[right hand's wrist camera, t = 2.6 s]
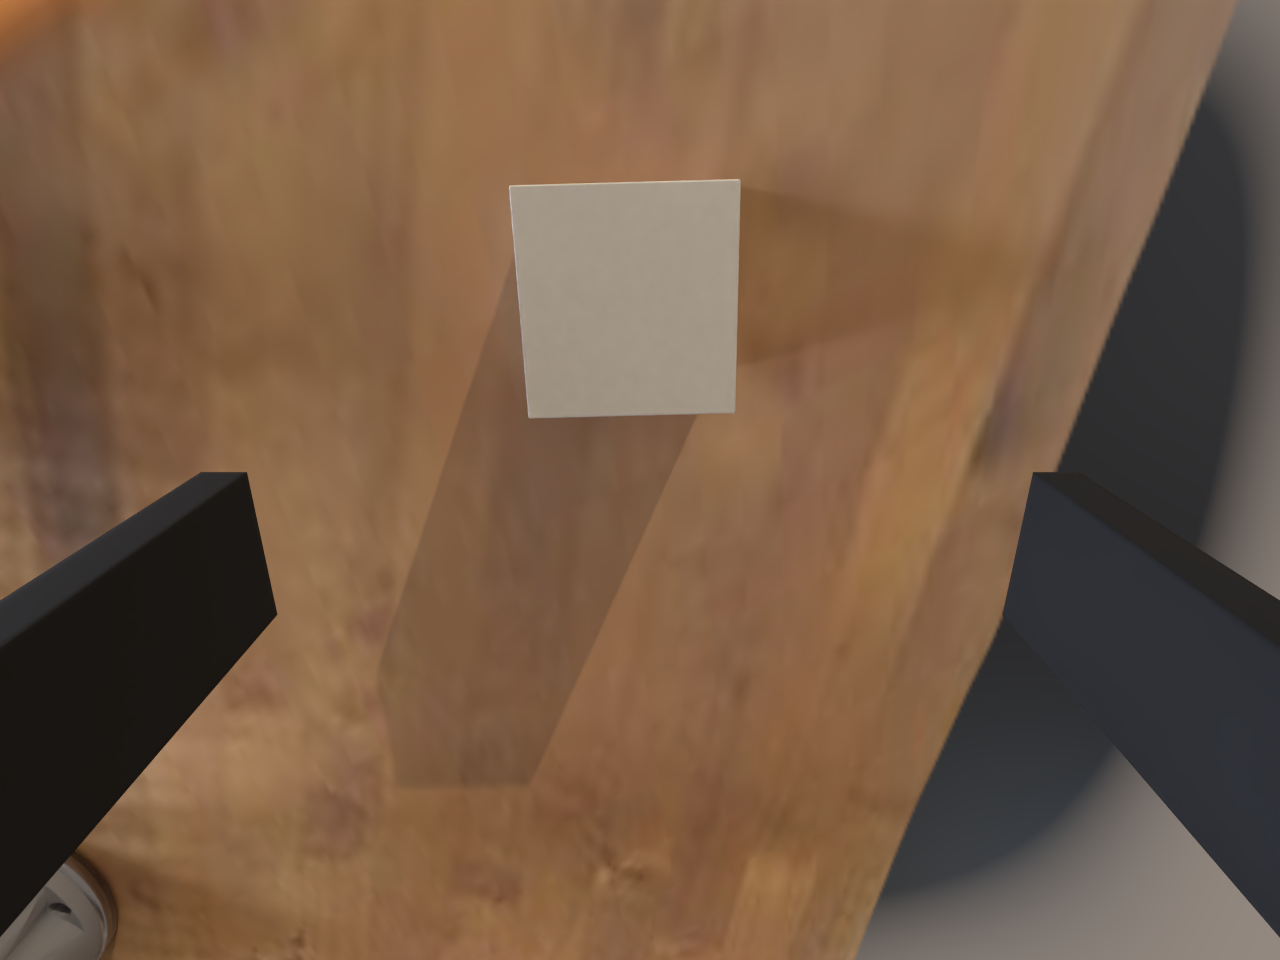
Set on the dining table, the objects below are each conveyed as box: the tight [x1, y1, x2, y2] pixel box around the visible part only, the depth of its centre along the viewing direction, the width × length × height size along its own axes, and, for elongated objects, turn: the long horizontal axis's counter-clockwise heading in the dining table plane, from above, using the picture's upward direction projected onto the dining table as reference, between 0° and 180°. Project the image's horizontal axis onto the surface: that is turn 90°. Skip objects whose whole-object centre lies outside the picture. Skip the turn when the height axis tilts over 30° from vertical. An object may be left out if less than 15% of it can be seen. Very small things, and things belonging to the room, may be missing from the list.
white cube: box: [509, 179, 741, 418], centre depth 33 cm, size 9×9×8 cm
